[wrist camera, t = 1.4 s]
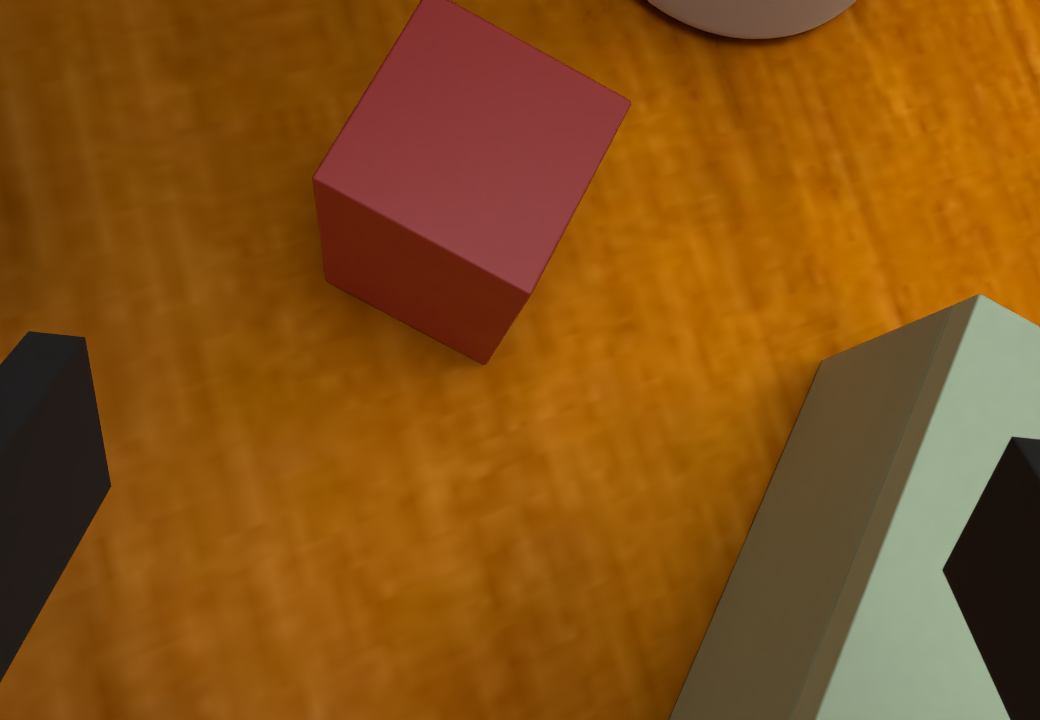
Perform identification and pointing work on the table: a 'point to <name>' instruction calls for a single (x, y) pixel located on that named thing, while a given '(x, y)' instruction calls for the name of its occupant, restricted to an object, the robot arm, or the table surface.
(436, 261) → the red block
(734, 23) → the cylinder vase
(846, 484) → the shelf
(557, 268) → the table surface
